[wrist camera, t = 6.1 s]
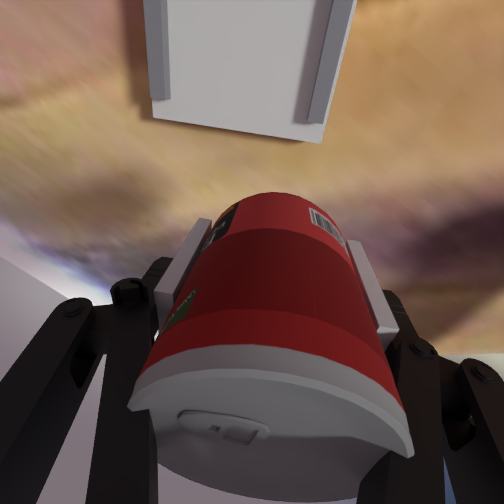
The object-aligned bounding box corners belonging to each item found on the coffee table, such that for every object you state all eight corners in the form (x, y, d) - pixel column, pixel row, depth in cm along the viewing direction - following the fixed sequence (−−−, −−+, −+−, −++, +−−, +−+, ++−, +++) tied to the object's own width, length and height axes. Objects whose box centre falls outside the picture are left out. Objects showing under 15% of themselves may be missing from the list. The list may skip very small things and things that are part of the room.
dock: (378, -108, 21) (430, -216, 13) (318, 138, 31) (328, 157, 23) (151, -138, 21) (76, -259, 14) (164, 114, 31) (124, 125, 24)
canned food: (209, 181, 15) (84, 349, 6) (356, 193, 14) (484, 399, 5) (214, 287, 19) (146, 483, 10) (328, 299, 18) (370, 518, 9)
